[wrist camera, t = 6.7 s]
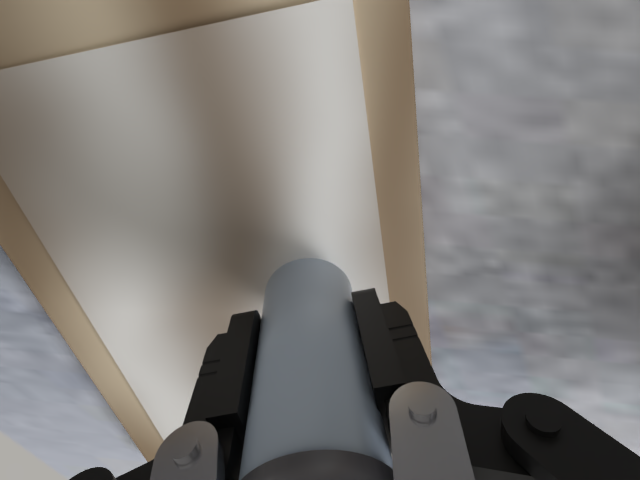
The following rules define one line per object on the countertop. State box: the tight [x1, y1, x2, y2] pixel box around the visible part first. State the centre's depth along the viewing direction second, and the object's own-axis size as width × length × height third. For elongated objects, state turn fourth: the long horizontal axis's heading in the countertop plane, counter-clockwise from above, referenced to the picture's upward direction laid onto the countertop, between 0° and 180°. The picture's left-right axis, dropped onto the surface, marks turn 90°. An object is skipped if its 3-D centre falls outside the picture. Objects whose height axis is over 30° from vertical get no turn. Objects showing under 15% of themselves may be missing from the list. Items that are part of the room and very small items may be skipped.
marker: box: [239, 258, 394, 480], centre depth 9 cm, size 3×3×8 cm
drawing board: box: [0, 0, 432, 462], centre depth 13 cm, size 14×19×1 cm
